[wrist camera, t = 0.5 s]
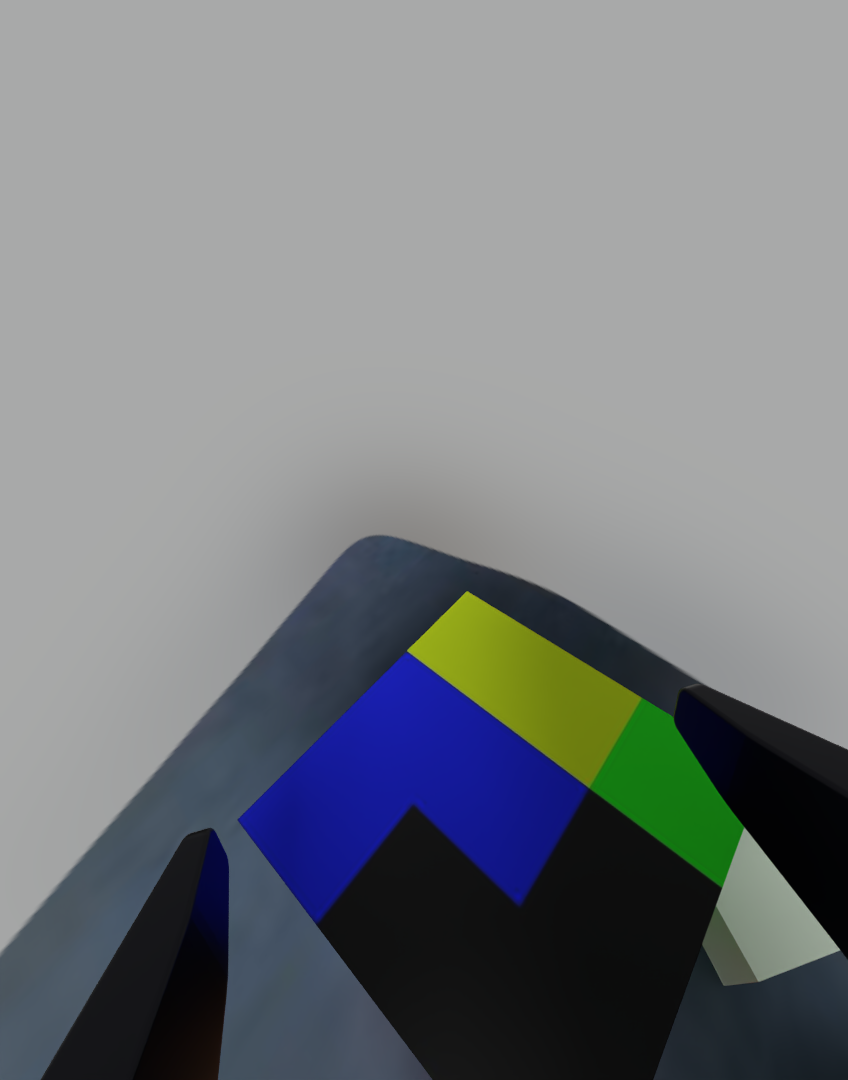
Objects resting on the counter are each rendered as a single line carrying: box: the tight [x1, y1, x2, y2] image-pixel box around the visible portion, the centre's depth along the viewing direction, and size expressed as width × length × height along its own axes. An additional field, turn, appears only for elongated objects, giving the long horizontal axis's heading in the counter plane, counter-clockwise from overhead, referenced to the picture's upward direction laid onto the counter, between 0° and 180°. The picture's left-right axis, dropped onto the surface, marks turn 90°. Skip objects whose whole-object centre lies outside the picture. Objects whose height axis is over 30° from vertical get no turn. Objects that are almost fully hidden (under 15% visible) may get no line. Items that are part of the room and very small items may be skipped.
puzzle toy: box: [238, 591, 744, 1080], centre depth 16 cm, size 10×10×10 cm
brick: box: [702, 827, 840, 986], centre depth 17 cm, size 4×4×3 cm
